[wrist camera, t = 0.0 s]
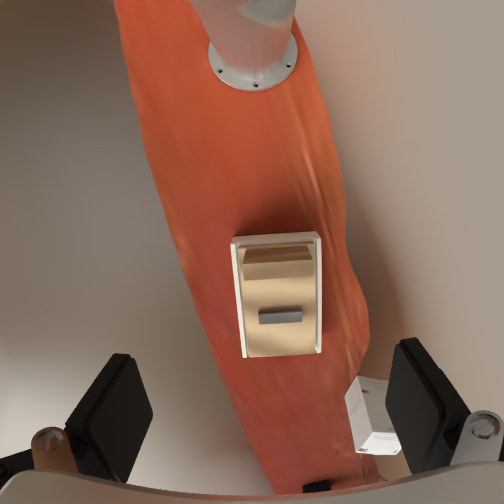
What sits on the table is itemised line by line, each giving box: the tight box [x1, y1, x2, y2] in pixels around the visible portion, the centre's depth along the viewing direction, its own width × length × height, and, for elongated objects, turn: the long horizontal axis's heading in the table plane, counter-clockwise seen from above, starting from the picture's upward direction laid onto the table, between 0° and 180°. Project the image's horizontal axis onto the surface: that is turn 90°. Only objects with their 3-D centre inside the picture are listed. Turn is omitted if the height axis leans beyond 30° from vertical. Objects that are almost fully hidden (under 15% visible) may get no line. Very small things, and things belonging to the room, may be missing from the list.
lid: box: [238, 241, 316, 357], centre depth 42 cm, size 17×10×8 cm, turn 5°
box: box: [231, 231, 322, 358], centre depth 47 cm, size 18×12×4 cm, turn 5°
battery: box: [303, 480, 332, 494], centre depth 59 cm, size 4×7×10 cm, turn 111°
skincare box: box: [345, 375, 402, 455], centre depth 47 cm, size 8×6×15 cm
